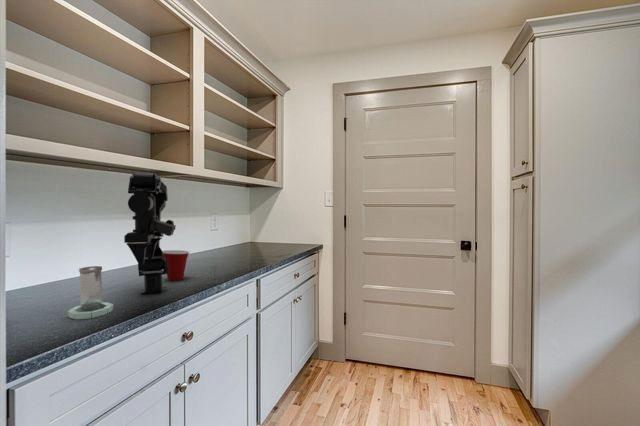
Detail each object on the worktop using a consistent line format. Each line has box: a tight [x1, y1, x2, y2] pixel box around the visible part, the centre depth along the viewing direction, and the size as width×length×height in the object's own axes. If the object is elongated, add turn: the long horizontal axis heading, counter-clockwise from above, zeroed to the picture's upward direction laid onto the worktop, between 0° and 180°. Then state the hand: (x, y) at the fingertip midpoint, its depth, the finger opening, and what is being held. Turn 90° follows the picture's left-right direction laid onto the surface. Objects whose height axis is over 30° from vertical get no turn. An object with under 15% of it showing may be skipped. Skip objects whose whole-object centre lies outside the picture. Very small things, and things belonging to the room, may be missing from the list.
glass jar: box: [78, 265, 103, 312], centre depth 94 cm, size 5×5×13 cm
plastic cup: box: [162, 249, 191, 282], centre depth 135 cm, size 11×11×12 cm
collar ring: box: [67, 301, 114, 320], centre depth 94 cm, size 10×10×2 cm
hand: (146, 262), depth 102 cm, fingers open, 9 cm apart
